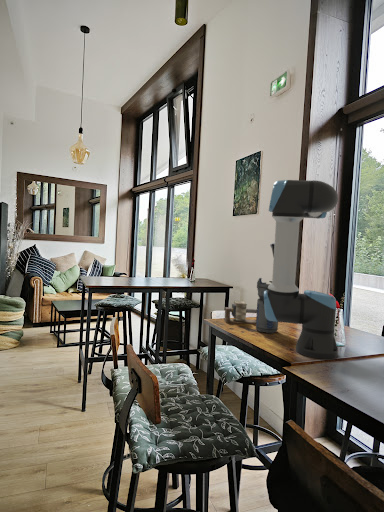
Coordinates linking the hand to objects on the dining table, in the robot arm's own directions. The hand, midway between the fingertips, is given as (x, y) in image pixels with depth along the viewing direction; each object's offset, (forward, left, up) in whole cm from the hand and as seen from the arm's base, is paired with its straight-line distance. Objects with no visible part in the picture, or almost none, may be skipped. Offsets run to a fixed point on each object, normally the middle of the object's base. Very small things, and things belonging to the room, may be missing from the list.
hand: (281, 277), depth 175 cm
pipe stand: (+5, +16, -25) cm, 30 cm away
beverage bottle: (-13, +9, -25) cm, 30 cm away
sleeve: (+5, +19, -23) cm, 31 cm away
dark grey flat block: (+5, +22, -22) cm, 32 cm away
